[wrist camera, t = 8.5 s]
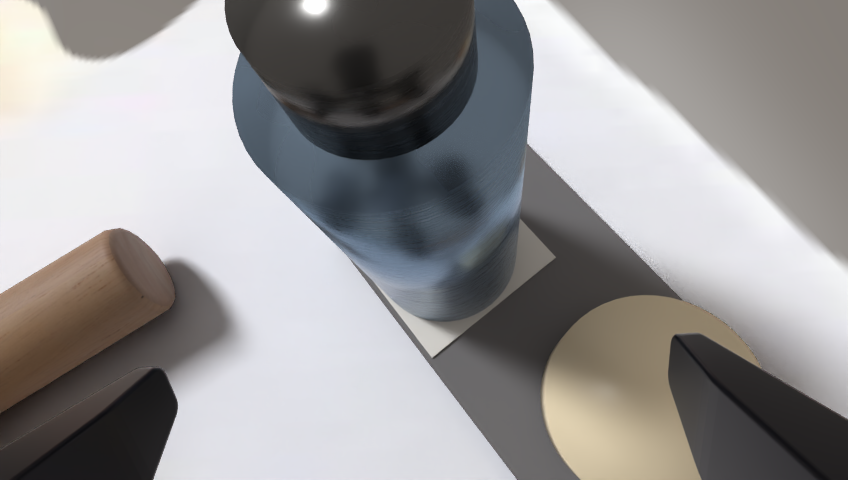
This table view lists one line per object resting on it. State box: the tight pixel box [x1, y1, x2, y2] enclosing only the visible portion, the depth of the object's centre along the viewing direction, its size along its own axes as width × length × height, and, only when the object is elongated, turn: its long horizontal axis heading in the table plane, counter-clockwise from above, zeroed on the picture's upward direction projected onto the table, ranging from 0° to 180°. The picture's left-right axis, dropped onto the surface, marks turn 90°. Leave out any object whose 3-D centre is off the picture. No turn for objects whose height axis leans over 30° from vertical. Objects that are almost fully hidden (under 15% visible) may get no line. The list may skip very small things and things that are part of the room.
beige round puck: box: [540, 295, 762, 480], centre depth 16 cm, size 6×6×2 cm
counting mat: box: [349, 145, 683, 480], centre depth 18 cm, size 14×8×1 cm, turn 38°
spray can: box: [225, 0, 534, 322], centre depth 13 cm, size 5×5×13 cm
